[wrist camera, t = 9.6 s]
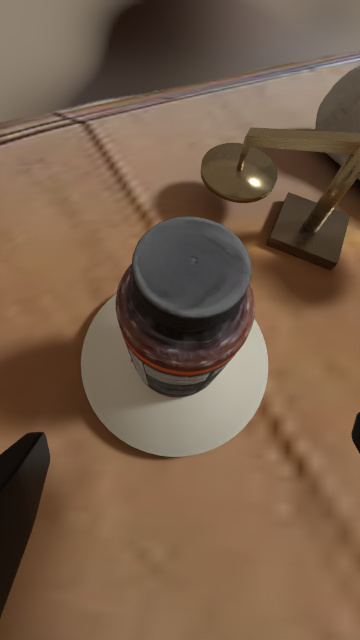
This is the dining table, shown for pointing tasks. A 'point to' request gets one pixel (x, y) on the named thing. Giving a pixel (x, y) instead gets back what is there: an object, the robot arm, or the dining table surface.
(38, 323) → the dining table surface
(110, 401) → the cream dish
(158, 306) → the supplement bottle
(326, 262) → the balance
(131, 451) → the dining table surface
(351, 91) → the decorative stone
